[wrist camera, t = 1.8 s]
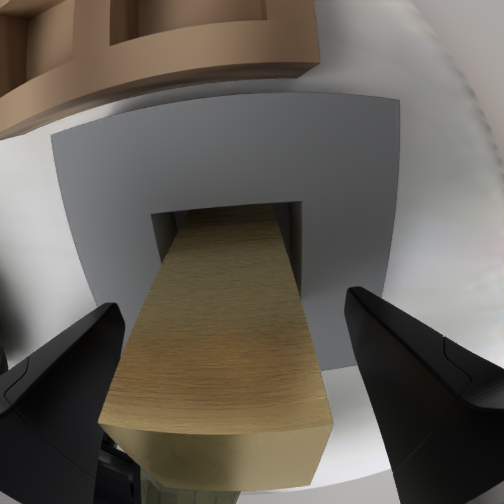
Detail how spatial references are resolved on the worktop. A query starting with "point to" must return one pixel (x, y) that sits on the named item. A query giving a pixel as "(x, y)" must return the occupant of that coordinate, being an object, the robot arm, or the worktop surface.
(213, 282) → the block
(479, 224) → the worktop surface
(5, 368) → the squash
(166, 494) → the olive carved statue
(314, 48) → the walnut rack
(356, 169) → the socket block
